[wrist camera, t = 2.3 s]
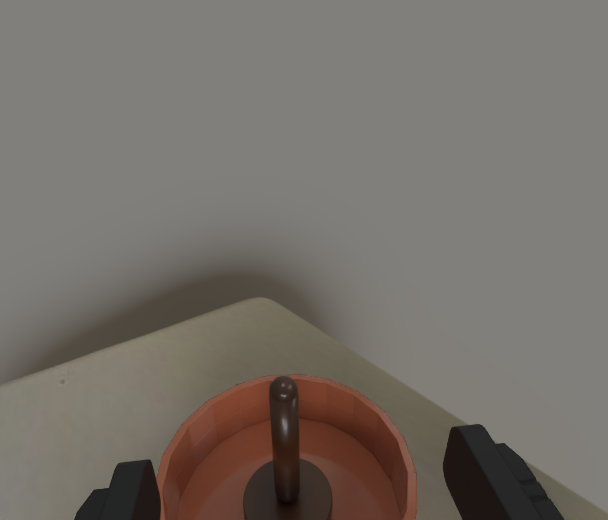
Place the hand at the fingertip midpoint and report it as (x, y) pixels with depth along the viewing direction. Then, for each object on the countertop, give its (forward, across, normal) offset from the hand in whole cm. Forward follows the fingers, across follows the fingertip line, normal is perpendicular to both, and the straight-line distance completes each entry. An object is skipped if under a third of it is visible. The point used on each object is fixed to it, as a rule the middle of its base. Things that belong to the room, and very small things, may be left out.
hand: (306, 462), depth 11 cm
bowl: (+11, 0, +20) cm, 23 cm away
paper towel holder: (+11, 0, +20) cm, 23 cm away
